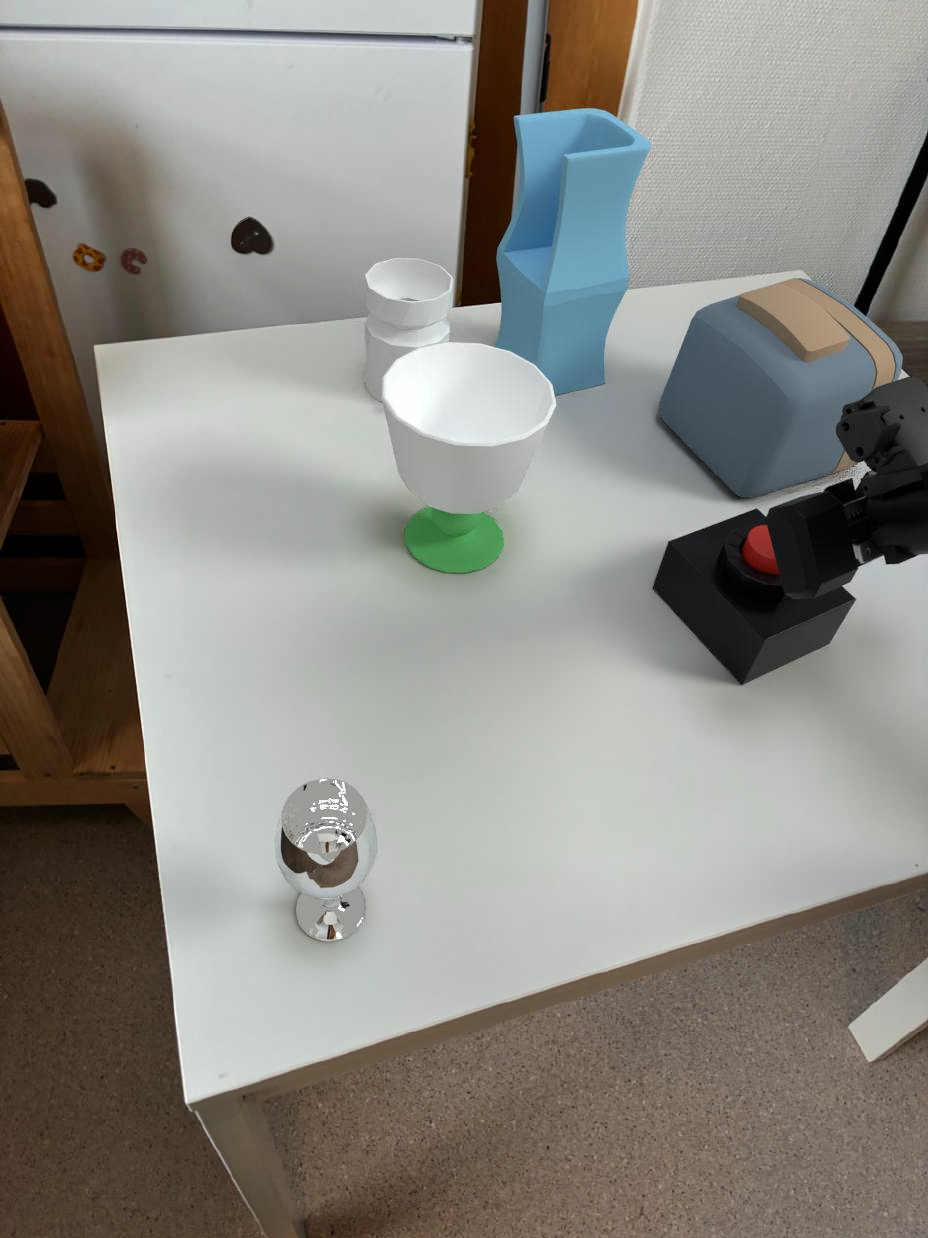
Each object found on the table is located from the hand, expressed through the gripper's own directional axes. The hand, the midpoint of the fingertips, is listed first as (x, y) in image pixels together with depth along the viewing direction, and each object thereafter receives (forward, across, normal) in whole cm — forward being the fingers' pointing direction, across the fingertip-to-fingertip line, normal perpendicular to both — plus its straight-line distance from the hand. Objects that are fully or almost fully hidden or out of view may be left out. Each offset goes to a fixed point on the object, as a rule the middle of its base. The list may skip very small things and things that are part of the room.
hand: (795, 525), depth 69 cm
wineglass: (+4, +42, +13) cm, 44 cm away
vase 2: (+36, -5, -20) cm, 42 cm away
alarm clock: (+22, -18, -5) cm, 29 cm away
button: (+4, 0, +2) cm, 5 cm away
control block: (+9, 0, +7) cm, 12 cm away
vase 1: (+39, +11, -22) cm, 46 cm away
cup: (+22, +18, -6) cm, 29 cm away
